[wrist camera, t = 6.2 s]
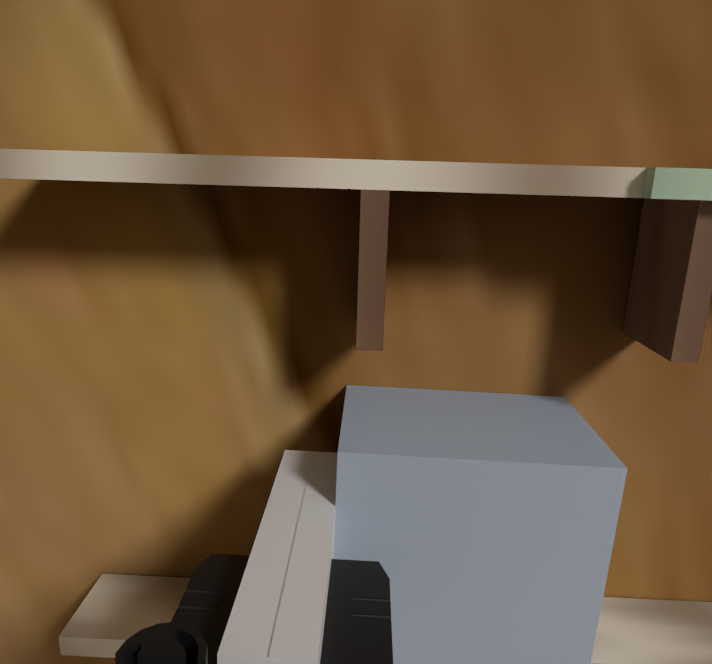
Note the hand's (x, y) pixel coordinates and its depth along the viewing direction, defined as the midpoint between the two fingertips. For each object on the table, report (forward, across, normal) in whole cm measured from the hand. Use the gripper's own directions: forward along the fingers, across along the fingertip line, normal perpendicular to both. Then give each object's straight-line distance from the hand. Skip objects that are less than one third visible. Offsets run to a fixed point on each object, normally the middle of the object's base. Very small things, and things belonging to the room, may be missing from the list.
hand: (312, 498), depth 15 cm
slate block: (+2, +4, 0) cm, 4 cm away
